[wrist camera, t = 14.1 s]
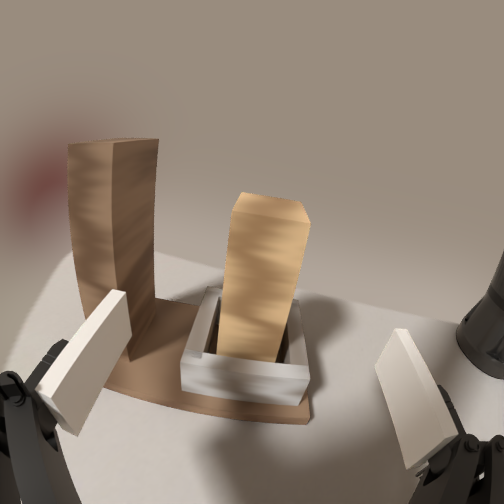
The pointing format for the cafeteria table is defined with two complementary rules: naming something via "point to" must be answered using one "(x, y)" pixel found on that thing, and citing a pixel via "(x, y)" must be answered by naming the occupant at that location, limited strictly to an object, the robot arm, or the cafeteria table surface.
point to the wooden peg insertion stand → (164, 311)
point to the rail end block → (260, 275)
